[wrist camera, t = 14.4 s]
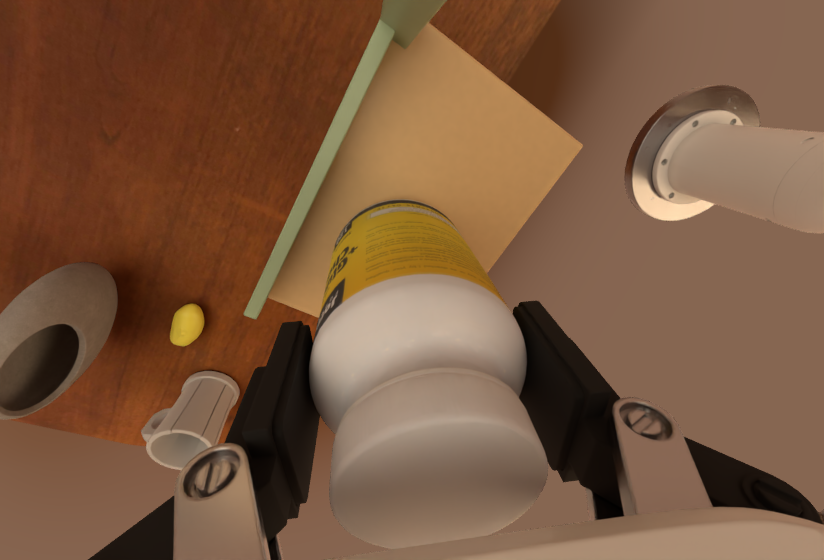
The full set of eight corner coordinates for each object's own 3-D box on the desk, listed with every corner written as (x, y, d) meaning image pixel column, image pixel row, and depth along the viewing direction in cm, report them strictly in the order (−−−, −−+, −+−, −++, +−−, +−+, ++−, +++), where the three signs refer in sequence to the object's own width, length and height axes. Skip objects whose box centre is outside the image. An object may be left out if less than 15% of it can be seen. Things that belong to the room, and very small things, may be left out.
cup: (210, 418, 63) (178, 482, 52) (165, 390, 59) (122, 455, 48) (251, 389, 61) (227, 451, 50) (208, 359, 57) (172, 420, 46)
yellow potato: (170, 331, 54) (156, 347, 50) (186, 292, 51) (173, 307, 47) (198, 341, 55) (187, 358, 52) (216, 304, 52) (205, 319, 49)
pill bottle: (359, 172, 15) (341, 335, 5) (484, 224, 17) (658, 419, 7) (316, 293, 18) (247, 561, 8) (429, 326, 20) (495, 578, 9)
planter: (128, 349, 54) (24, 460, 38) (75, 336, 52) (-60, 447, 36) (146, 250, 47) (27, 334, 31) (85, 230, 45) (-77, 309, 29)
